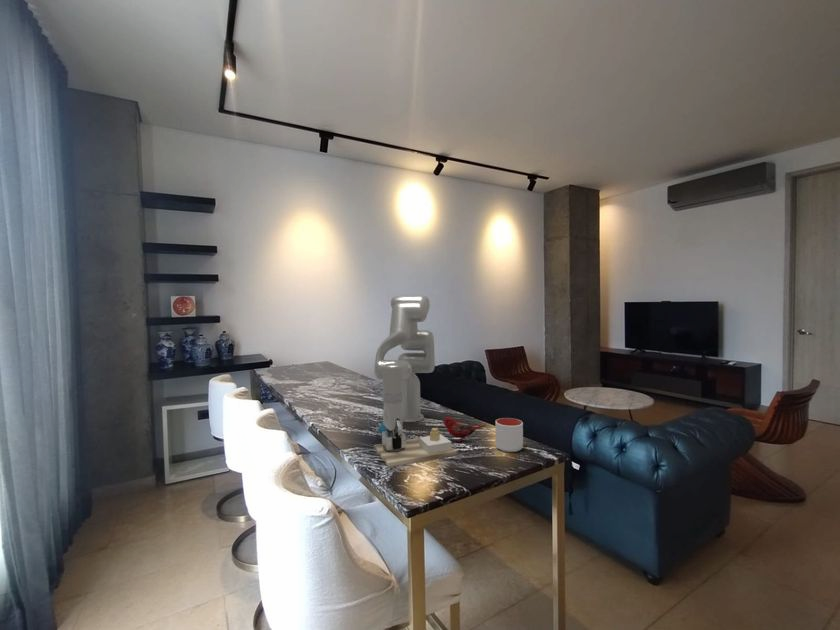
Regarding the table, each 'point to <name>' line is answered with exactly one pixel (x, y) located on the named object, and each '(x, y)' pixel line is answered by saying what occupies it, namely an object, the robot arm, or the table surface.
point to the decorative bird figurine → (459, 428)
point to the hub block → (434, 442)
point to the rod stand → (393, 449)
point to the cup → (509, 434)
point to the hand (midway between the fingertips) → (393, 444)
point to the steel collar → (391, 440)
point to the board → (410, 454)
